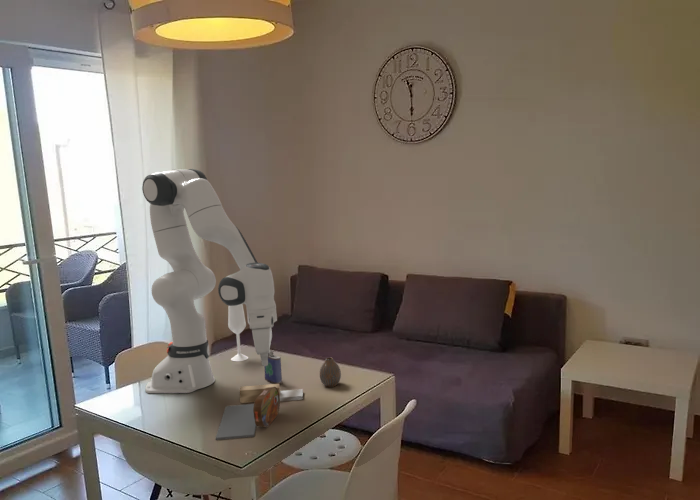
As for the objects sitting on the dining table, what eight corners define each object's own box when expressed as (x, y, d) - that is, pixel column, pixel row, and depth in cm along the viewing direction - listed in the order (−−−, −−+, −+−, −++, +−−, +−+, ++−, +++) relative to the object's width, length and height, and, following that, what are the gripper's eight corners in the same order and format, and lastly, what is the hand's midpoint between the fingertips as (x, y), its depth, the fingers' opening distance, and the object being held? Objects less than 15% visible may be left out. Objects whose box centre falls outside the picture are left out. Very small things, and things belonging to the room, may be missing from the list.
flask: (283, 383, 195) (281, 351, 194) (276, 385, 193) (273, 353, 192) (269, 376, 202) (267, 346, 201) (262, 379, 200) (260, 348, 199)
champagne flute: (249, 359, 223) (244, 297, 220) (231, 362, 221) (226, 299, 218) (247, 354, 229) (243, 294, 226) (230, 357, 228) (225, 296, 225)
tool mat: (215, 439, 154) (215, 437, 154) (226, 407, 176) (226, 406, 176) (254, 436, 155) (254, 434, 155) (259, 405, 177) (259, 403, 177)
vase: (324, 390, 187) (323, 363, 186) (317, 383, 193) (315, 357, 192) (344, 386, 189) (343, 359, 188) (336, 379, 196) (335, 354, 195)
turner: (240, 404, 178) (239, 392, 178) (241, 397, 184) (241, 385, 184) (302, 399, 180) (302, 387, 179) (302, 392, 186) (302, 380, 185)
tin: (263, 432, 157) (261, 402, 156) (252, 432, 158) (250, 401, 157) (281, 410, 172) (279, 382, 171) (271, 410, 173) (269, 382, 172)
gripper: (254, 310, 189) (258, 352, 190) (248, 324, 168) (253, 371, 170) (274, 308, 189) (277, 350, 191) (270, 322, 169) (275, 369, 170)
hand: (266, 360), depth 180 cm, fingers open, 8 cm apart
